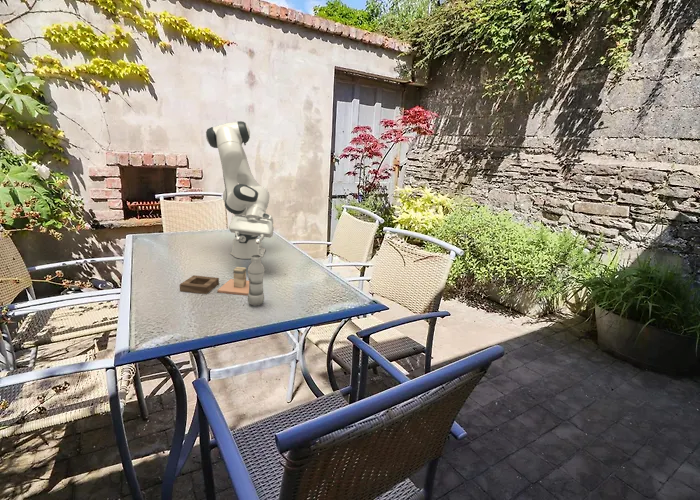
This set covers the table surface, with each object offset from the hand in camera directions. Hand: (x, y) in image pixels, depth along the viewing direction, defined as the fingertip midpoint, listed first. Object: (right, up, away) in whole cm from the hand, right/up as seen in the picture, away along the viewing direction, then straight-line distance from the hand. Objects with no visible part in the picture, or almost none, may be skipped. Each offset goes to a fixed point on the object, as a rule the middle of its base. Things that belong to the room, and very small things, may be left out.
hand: (247, 242), depth 161 cm
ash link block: (-1, -19, -7) cm, 21 cm away
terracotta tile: (-1, -20, -7) cm, 21 cm away
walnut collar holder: (-18, -20, -10) cm, 28 cm away
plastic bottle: (+9, -25, -21) cm, 34 cm away
